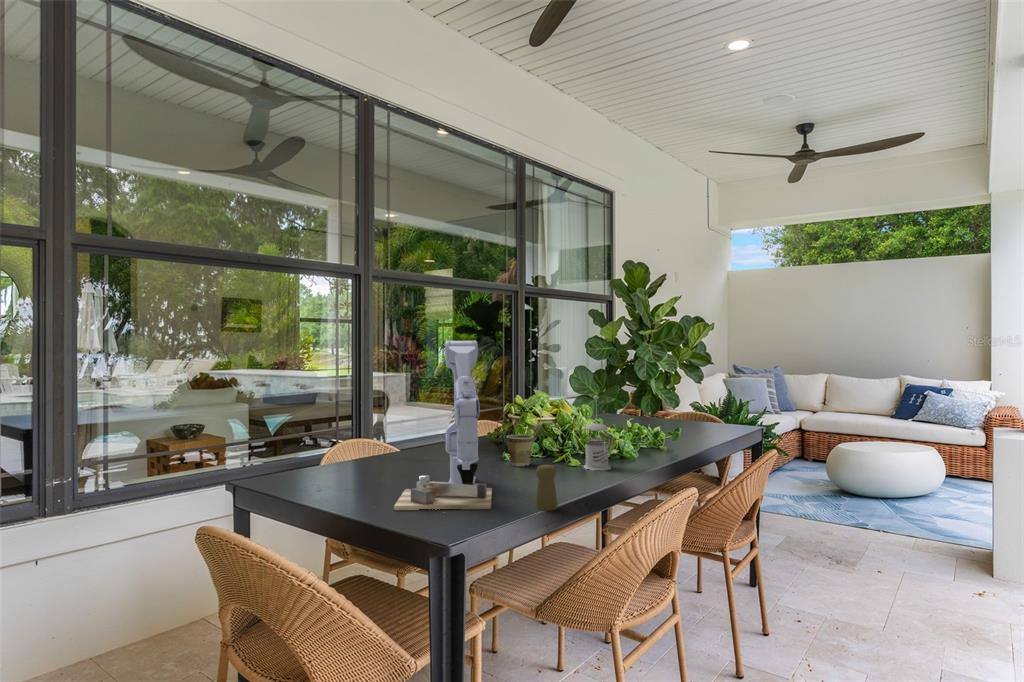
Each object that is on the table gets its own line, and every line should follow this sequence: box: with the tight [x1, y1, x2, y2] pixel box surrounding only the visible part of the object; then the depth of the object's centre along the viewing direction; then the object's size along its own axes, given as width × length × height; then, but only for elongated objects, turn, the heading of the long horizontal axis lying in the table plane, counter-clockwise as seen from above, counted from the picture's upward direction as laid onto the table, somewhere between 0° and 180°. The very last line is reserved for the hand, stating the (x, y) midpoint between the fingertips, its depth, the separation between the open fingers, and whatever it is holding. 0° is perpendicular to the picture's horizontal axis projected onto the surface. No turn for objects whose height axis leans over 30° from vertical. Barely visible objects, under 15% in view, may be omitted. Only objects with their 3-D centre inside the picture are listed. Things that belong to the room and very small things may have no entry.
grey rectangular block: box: [410, 486, 433, 505], centre depth 160 cm, size 2×6×3 cm, turn 51°
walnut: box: [425, 486, 437, 499], centre depth 162 cm, size 4×4×4 cm
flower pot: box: [505, 433, 535, 467], centre depth 217 cm, size 13×10×10 cm
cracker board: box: [393, 487, 493, 511], centre depth 166 cm, size 18×25×1 cm
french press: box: [582, 395, 614, 471], centre depth 210 cm, size 10×12×25 cm
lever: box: [416, 474, 487, 498], centre depth 166 cm, size 20×3×5 cm, turn 77°
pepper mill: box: [534, 464, 559, 511], centre depth 158 cm, size 6×6×11 cm
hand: (467, 490), depth 167 cm, fingers closed
